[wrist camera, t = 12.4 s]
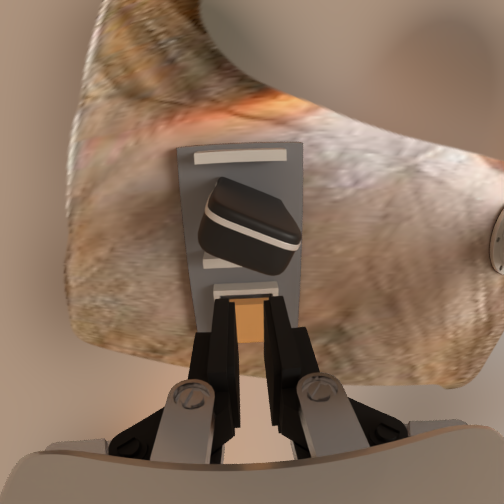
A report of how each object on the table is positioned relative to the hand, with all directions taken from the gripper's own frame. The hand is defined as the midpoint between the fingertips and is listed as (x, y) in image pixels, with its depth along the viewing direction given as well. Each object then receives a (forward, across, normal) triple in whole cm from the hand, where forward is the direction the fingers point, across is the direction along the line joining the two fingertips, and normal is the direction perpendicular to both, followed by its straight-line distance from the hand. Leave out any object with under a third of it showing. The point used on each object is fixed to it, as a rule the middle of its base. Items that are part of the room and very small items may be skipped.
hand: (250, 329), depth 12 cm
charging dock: (+21, 0, +5) cm, 22 cm away
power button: (+18, 0, +12) cm, 21 cm away
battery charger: (+20, 0, 0) cm, 20 cm away
